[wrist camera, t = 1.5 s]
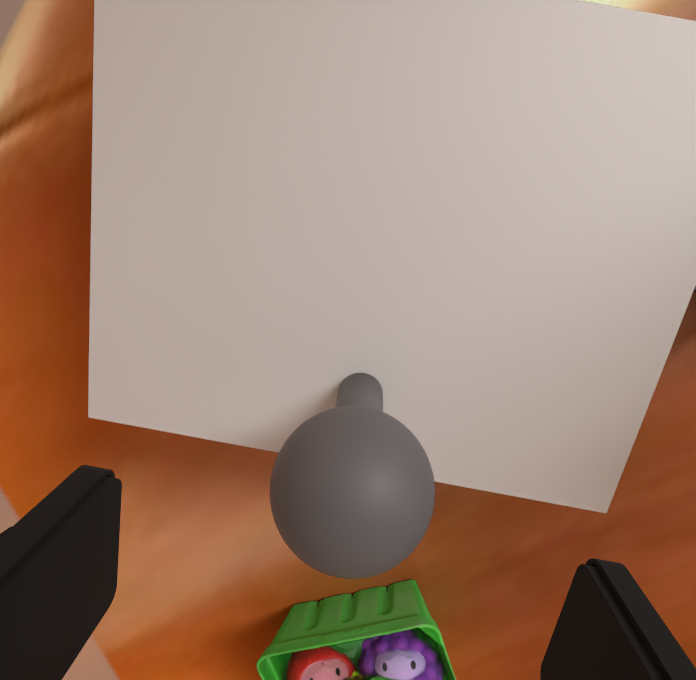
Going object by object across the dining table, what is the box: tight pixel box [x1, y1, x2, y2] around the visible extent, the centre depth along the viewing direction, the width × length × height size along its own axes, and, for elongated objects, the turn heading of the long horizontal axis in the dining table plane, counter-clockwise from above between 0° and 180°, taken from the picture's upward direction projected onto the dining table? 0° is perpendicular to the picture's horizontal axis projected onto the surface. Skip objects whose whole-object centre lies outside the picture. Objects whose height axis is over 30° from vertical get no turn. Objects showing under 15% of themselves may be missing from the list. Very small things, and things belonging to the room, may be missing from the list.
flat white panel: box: [88, 0, 696, 579], centre depth 13 cm, size 16×20×8 cm
